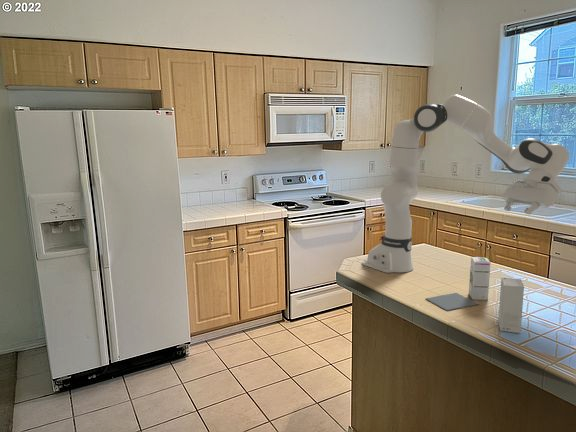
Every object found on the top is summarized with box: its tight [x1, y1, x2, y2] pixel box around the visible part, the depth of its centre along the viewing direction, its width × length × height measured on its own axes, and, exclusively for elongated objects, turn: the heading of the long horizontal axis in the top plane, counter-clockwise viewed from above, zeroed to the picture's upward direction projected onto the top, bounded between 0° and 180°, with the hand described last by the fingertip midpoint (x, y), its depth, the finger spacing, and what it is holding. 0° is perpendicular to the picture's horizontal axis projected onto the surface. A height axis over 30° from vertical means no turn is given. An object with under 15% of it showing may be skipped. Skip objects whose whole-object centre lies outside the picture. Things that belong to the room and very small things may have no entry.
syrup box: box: [468, 256, 491, 301], centre depth 158 cm, size 6×6×14 cm
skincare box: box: [497, 277, 525, 334], centre depth 134 cm, size 8×6×15 cm
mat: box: [425, 292, 480, 312], centre depth 155 cm, size 11×14×1 cm
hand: (516, 211), depth 161 cm, fingers open, 8 cm apart
